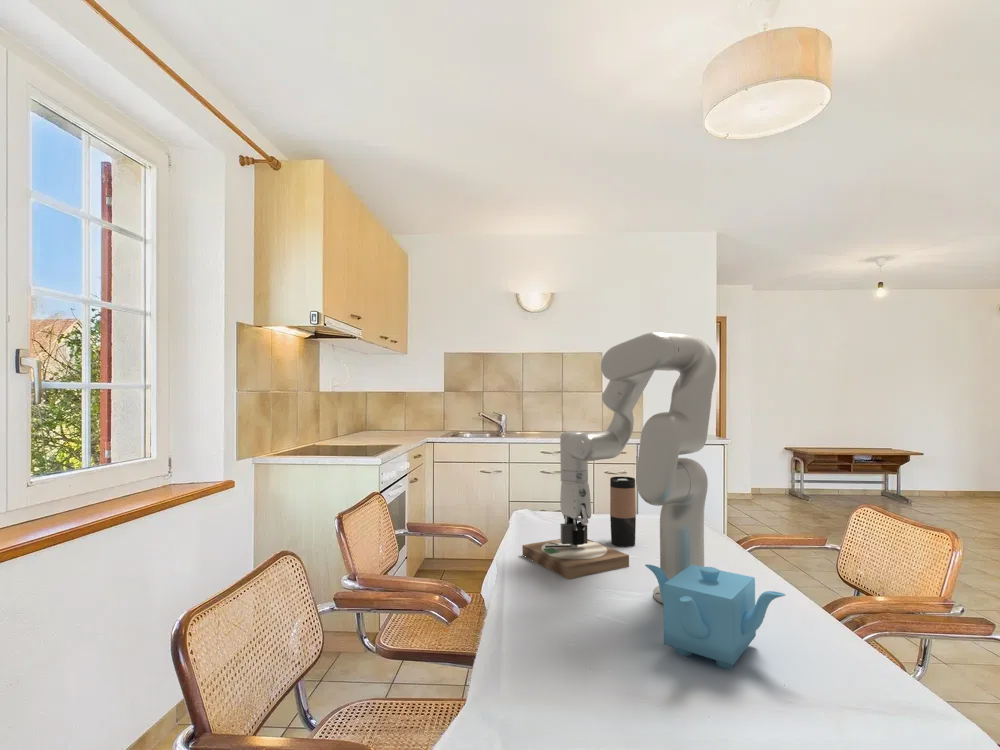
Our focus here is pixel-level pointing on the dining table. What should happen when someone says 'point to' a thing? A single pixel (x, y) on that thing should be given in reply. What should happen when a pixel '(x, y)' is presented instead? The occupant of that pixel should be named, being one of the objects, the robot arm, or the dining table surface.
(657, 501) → the robot arm
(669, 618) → the teakettle
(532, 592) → the dining table surface
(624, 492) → the travel mug
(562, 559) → the brown wooden flat block
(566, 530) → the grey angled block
